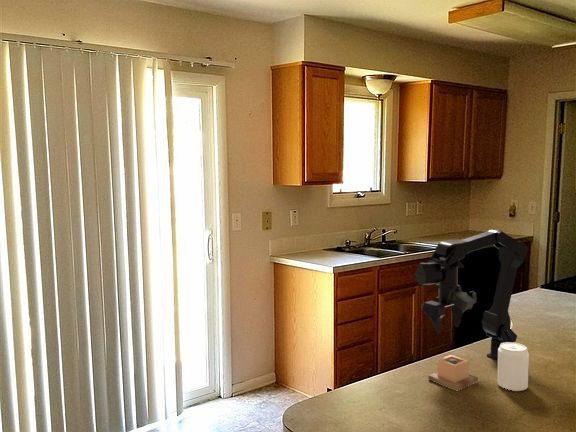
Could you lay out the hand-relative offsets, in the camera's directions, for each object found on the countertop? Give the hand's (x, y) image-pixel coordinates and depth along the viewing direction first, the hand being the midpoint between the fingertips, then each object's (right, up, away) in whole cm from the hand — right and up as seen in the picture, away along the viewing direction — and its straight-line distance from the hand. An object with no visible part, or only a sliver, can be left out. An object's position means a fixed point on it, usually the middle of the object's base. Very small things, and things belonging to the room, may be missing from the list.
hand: (447, 330), depth 164 cm
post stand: (-2, -13, -10) cm, 16 cm away
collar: (-2, -12, -10) cm, 15 cm away
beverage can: (+14, -13, -14) cm, 24 cm away
